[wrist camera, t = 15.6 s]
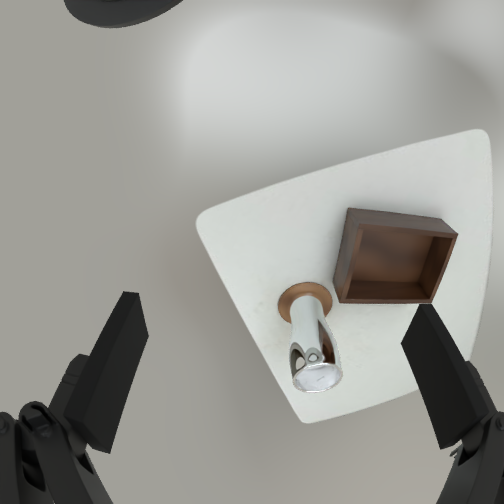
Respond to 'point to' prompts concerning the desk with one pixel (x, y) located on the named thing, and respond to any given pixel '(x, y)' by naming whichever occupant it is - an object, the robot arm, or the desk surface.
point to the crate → (391, 257)
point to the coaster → (300, 289)
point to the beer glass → (312, 345)
